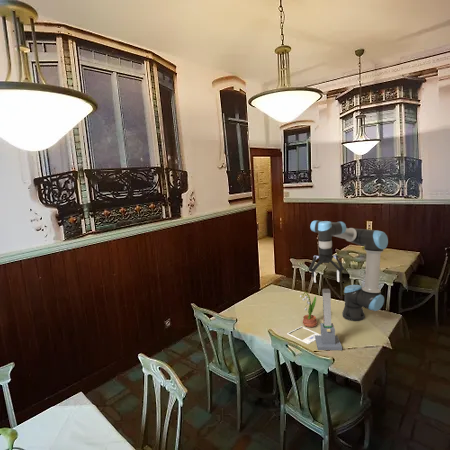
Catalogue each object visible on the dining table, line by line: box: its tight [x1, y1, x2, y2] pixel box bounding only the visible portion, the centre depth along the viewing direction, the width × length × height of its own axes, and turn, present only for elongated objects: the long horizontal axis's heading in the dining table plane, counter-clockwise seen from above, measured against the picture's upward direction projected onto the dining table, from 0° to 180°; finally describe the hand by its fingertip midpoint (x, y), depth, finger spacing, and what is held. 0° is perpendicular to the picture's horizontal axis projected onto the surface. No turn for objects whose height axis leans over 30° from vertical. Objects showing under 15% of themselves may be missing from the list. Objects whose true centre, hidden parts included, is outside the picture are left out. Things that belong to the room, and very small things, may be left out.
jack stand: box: [315, 322, 343, 351], centre depth 198 cm, size 14×14×12 cm
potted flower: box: [299, 292, 318, 328], centre depth 223 cm, size 12×10×25 cm
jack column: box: [322, 288, 332, 328], centre depth 196 cm, size 4×4×25 cm
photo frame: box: [286, 325, 321, 345], centre depth 212 cm, size 15×1×18 cm
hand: (326, 281), depth 193 cm, fingers open, 13 cm apart
